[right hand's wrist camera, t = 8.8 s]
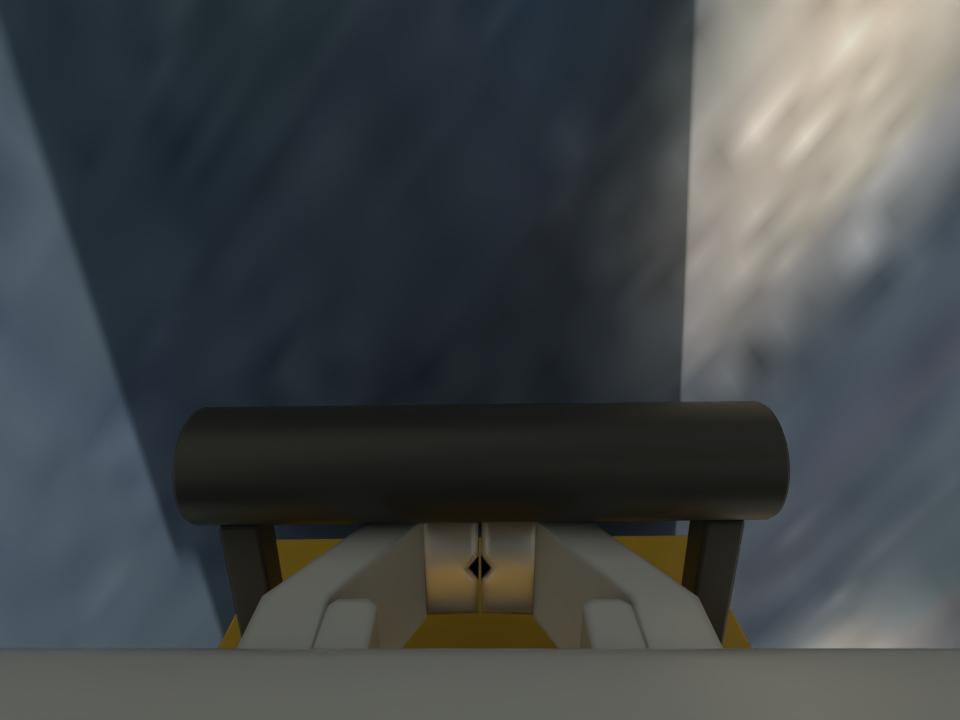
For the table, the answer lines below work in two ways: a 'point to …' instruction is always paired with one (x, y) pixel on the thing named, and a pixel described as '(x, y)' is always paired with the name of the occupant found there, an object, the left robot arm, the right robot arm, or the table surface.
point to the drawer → (484, 488)
